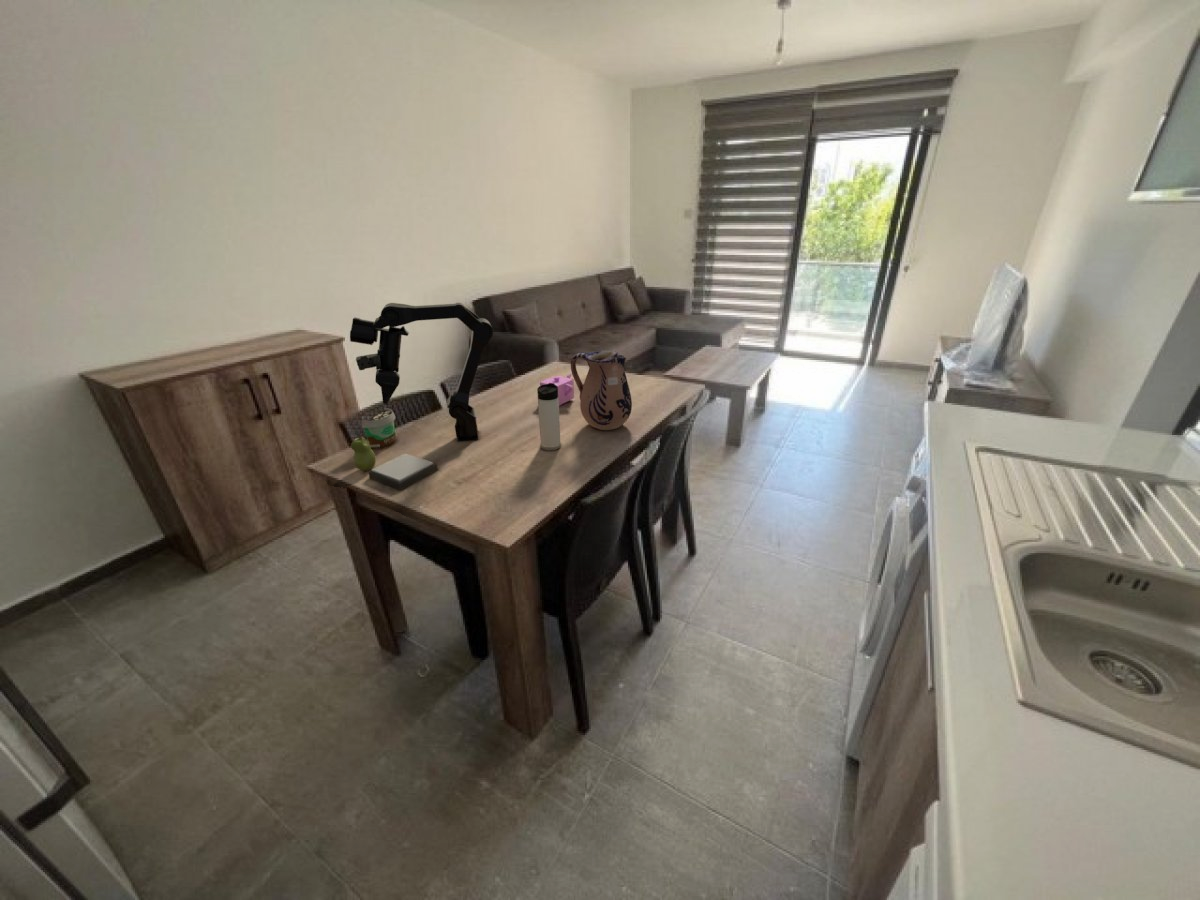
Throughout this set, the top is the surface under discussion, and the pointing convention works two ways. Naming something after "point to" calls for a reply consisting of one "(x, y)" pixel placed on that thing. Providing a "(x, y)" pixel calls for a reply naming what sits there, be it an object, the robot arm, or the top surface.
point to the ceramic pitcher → (603, 389)
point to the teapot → (562, 387)
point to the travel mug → (549, 416)
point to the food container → (380, 429)
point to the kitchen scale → (402, 471)
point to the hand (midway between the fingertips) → (385, 399)
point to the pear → (363, 454)
